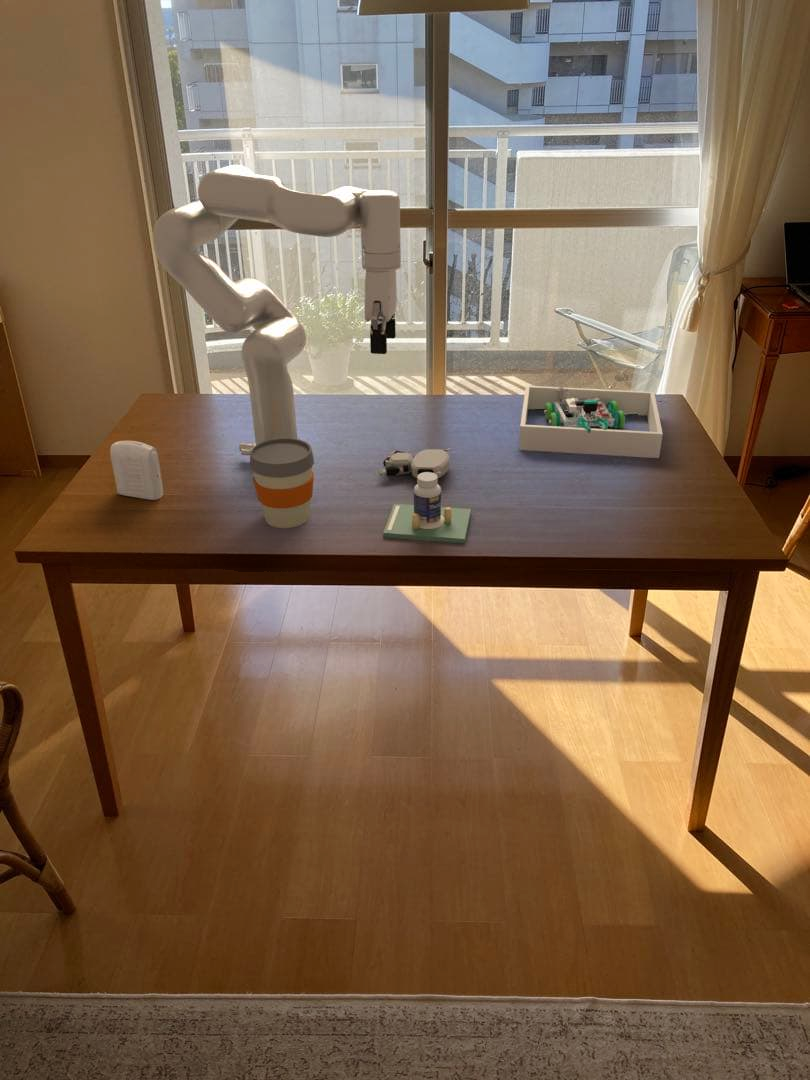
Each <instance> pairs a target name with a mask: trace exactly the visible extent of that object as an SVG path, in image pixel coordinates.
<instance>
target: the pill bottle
mask: <svg viewBox="0 0 810 1080" xmlns="http://www.w3.org/2000/svg"><path fill="white" fill-rule="evenodd" d="M438 480H439V478H438V477H437V475H436V474H434V473H431V472H423V473H420V474H419V475H418V476H417V478H416V483H417V484H416V485H414V487H413V505H414V514H415V513H416V514H419V524H420V525H425V526H430V525H435V524H437V523H438V522H439V521H440V519H441V507H442V488H441V485H439V484H438V482H439V481H438Z"/></svg>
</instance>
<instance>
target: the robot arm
mask: <svg viewBox="0 0 810 1080" xmlns="http://www.w3.org/2000/svg"><path fill="white" fill-rule="evenodd" d="M197 196H198V198H197V199H195V201H191V202H189V203H185V204H182V205H179V206H177V207H174V208H171V209H169V210H167V211H166V212H164V213H163V214H162V215H161V216H160V217H159V218H158V219H157V220H156V222H155V225H154V227H153V231H152V245H153V250H154V253H155V256H156V258H157V260H158V261H159V263H160V265H161V266H162V268H163V269H164V270H165V271H166V272H167V273H168V274H169V275H170V276H171V278H173V279H174V280H175V281H176V282H177V283H178V284H179V285H180V286H181V287H182V288H183V289H184V290H185V291H187V293H188V294H189V295H190V296H191V297H192V299H193V300H194V301H195V303H196V304H198V305H199V306H200V307H201V308H202V309H203V311H204V312H205V313H206V314H207V315H208V316H209V317H210V319H212V321H214V323H216V325H217V326H218V327H219V328H220V329H222V330H223V331H224V332H226V333H227V334H234V335H236V334H239V333H241V332H244V331H245V330H247V329H248V328H250V327H252V328H253V329H254V330H253V331H252V332H251V333H250V334H249V335H247V336H246V338H245V339H244V341H243V343H242V347H241V353H240V354H241V359H242V363H243V367H244V371H245V373H246V374H245V375H246V378H247V384H248V389H249V398H250V405H251V414H252V415H251V416H252V421H253V424H252V425H253V433H254V434H253V435H254V442H253V443H247V442H240V443H239V446H238V449H239V451H240V455H241V456H250V452H251V449H252V448H253V447H254V446H255V445H257V444H259V443H261V442H263V441H267V440H270V439H276V438H294V439H298V427H297V418H296V417H297V415H296V405H295V404H296V402H295V396H294V395H295V394H294V393H295V392H294V387H293V386H294V385H293V381H292V378H291V375H290V373H289V370H288V364H289V363H290V362H292V360H294V359H295V358H296V357H298V356H299V355H300V354H301V353H302V352H303V350H304V348H305V347H306V345H307V344H306V343H307V336H306V331H305V329H304V327H303V325H302V323H301V322H300V321H299V319H298V318H297V317H296V316H295V315H294V313H293V312H291V310H290V309H289V308H288V307H287V306H286V305H285V303H283V302H282V300H281V299H280V298H279V297H278V296H277V294H275V293H274V292H273V290H271V288H270V287H269V286H267V285H266V284H265V283H264V282H262V281H261V280H259V279H256V278H254V277H253V278H252V277H245V278H244V277H243V278H241V279H238V280H236V281H234V280H233V279H231V278H230V276H228V274H226V272H225V271H223V269H222V268H221V267H220V266H219V265H218V264H217V263H216V262H215V261H213V260H212V259H211V258H210V257H207V256H206V255H204V254H203V253H201V252H200V251H199V250H198V248H199V247H202V246H204V245H206V244H208V243H212V242H213V241H215V240H217V239H218V238H220V237H221V236H222V235H224V234H225V233H226V231H227V230H229V229H230V228H231V227H232V226H233V225H234V224H235V223H236V222H237V221H238V220H239V219H240V220H246V221H255V222H260V223H261V222H262V223H267V224H268V223H269V224H273V225H275V226H276V227H278V228H281V229H283V230H286V231H288V232H291V233H295V234H301V235H308V236H312V237H313V236H314V237H321V238H322V237H323V238H331V237H337V236H340V235H342V234H344V233H346V232H347V231H349V230H351V229H355V228H357V227H360V243H361V244H360V245H361V267H362V269H363V270H365V275H364V276H365V278H364V279H365V280H364V320H365V321H366V322H369V321H370V328H369V329H370V330H369V339H370V340H369V341H370V344H369V345H370V346H369V347H370V353H371V354H374V355H386V354H387V352H388V343H387V342H388V341H387V339H395V338H396V336H397V335H396V334H397V333H396V318H395V316H396V313H395V312H396V309H397V299H398V298H397V294H398V293H397V291H398V290H397V270H399V269H400V268H401V265H402V263H401V261H402V260H401V201H400V197H399V194H398V193H396V192H395V191H393V190H387V189H375V190H369V189H363V188H359V187H356V186H350V185H349V186H348V185H347V186H346V185H345V186H341V187H339V188H336V189H333V190H330V191H329V192H326V193H324V194H323V193H321V194H317V193H309V192H304V191H303V192H302V191H296V190H292V189H289V188H286V187H285V184H284V182H283V180H282V179H280V178H279V177H277V176H273V175H263V174H257V173H256V174H255V173H254V172H253V171H252V170H251V169H249V168H248V167H246V166H244V165H240V164H230V165H227V166H223V167H220V168H217V169H213V170H211V171H209V172H207V173H206V174H205V175H204V176H203V177H202V178H201V179H200V182H199V184H198V188H197Z"/></svg>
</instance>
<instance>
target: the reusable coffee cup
mask: <svg viewBox="0 0 810 1080" xmlns="http://www.w3.org/2000/svg"><path fill="white" fill-rule="evenodd" d="M249 460H250V461H249V464H250V465H249V466H250V469H251V471H252V472H253V477H252V480H253V481H252V482H253V485H254V488H255V493H256V496H257V500H258V501H259V503H260V505H261V508H262V510H263V511H262V512H263V515H264V518H265V522H266V523H267V524H268V525H269V526H271V527H274V528H277V529H278V528H279V529H290V528H296V527H299V526H302V525H303V524H305V523H306V522H307V521H308V520H309V519H310V518H309V517H310V511H311V510H310V508H311V507H310V506H311V499H312V497H313V491H314V480H315V479H314V475H315V474H314V471H313V466H314V464H315V458H314V454H313V448H312V446H311V444H310V443H309V442H307V441H305V440H302V439H299V438H297V439H294V438H276V439H270V440H267V441H263V442H261V443H259V444H257V445H255V446H254V447H253V448H252V449H251V452H250V455H249Z"/></svg>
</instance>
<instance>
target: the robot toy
mask: <svg viewBox="0 0 810 1080" xmlns="http://www.w3.org/2000/svg"><path fill="white" fill-rule="evenodd" d="M451 450H452V448H451V447H450V448H447V449H436V448H435V449H428V448H426V449H424V450H421V451H419V452H418V453H416V454H415V455H413V454H412V453H407V452H404V451H401V450H395V451H391V452H389V453H388V456H386V458H385V459H384V460H383V467H385V469H380V470H379V471H378V474H379V475H380V476H385V475H386V476H387V477H391V476H392V477H393V476H401V475H407V474H408V475H409V474H410V473H411V475H412V477H414V478H416V479H417V476H418V475H419V474H420V473H423V472H431V473H434V474H436V475H437V477H438V479H440V478H442V477H443V476H444V475H445V474H446V473H447V472H448V471H449V470H450V466H451V465H450V454H449V453H448V451H451Z"/></svg>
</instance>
